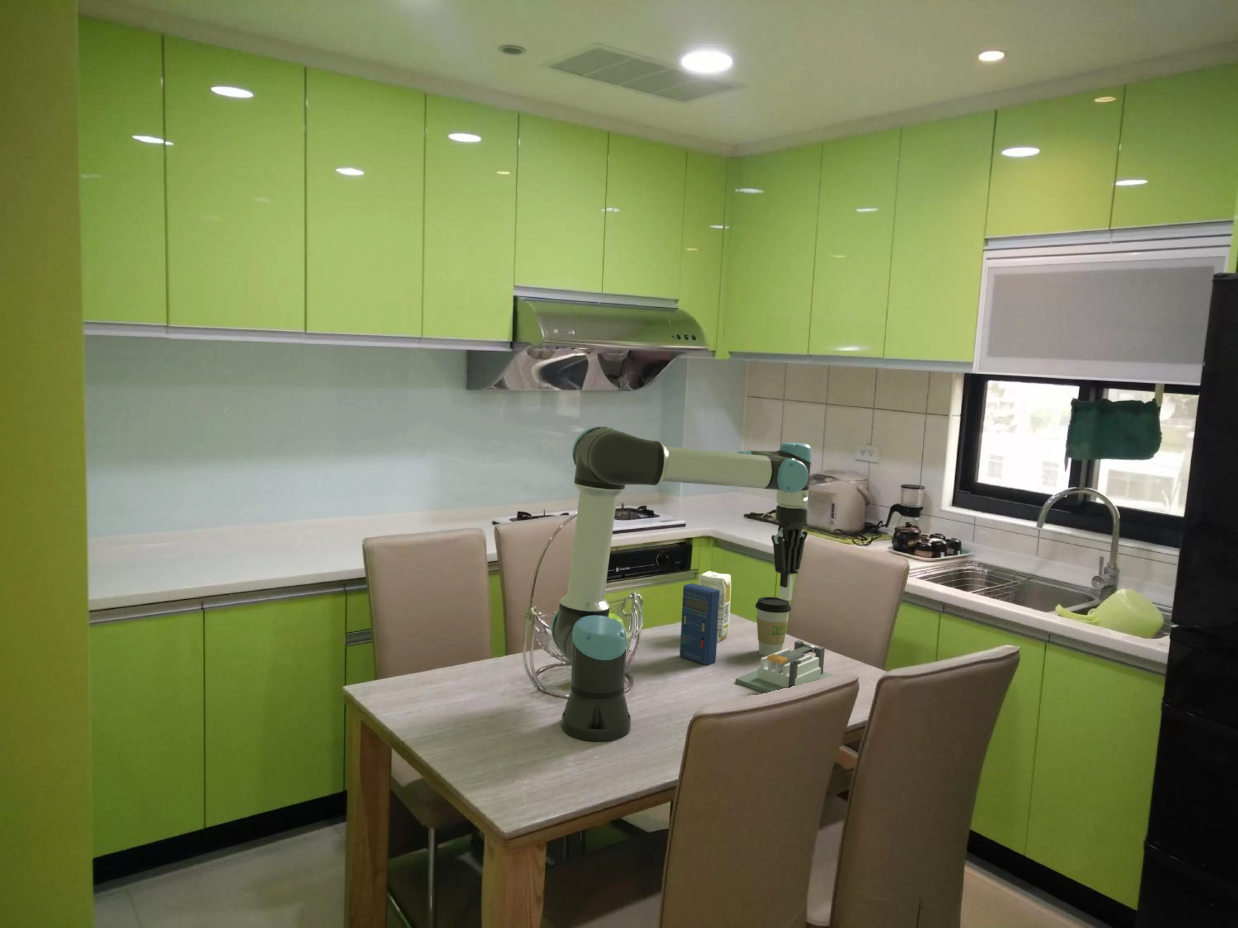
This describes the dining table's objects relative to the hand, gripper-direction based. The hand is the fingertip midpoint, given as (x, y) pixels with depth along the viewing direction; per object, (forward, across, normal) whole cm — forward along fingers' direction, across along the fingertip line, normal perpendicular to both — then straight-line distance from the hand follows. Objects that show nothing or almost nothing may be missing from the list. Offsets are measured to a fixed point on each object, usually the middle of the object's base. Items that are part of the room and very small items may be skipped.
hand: (785, 598), depth 223 cm
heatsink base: (+22, +4, 0) cm, 23 cm away
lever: (+16, +5, 0) cm, 17 cm away
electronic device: (+23, -1, +26) cm, 34 cm away
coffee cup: (+23, +19, +16) cm, 34 cm away
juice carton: (+23, +17, +35) cm, 45 cm away
